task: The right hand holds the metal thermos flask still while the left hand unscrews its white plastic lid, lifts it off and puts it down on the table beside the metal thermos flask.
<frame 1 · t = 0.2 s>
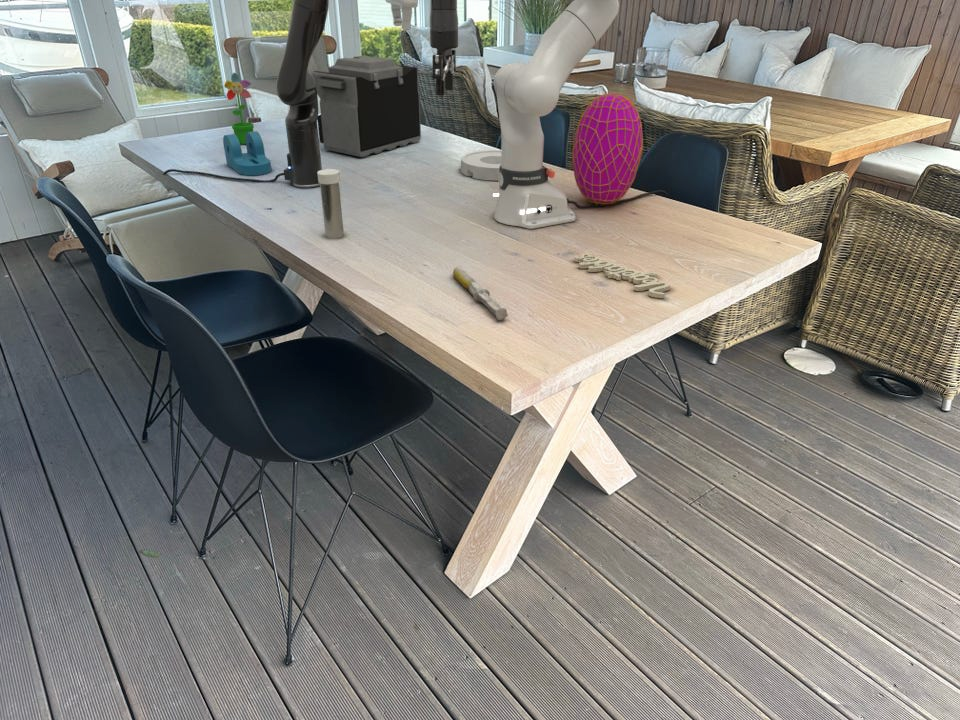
left hand: (444, 92, 191), 29 cm above the table, tool pointing down, fingers open, 8 cm apart
right hand: (402, 27, 157), 48 cm above the table, tool pointing down, fingers open, 8 cm apart
camera mount: (251, 168, 229), on the table
decorative egg: (601, 203, 201), on the table
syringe: (478, 297, 145), on the table
potted flower: (246, 142, 260), on the table
ashtray: (495, 171, 230), on the table
electronic device: (371, 146, 258), on the table
decorative sign: (623, 275, 156), on the table
lid: (328, 173, 168), point 16 cm above the table, screwed on, not yet turned
metal thermos flask: (334, 235, 176), on the table
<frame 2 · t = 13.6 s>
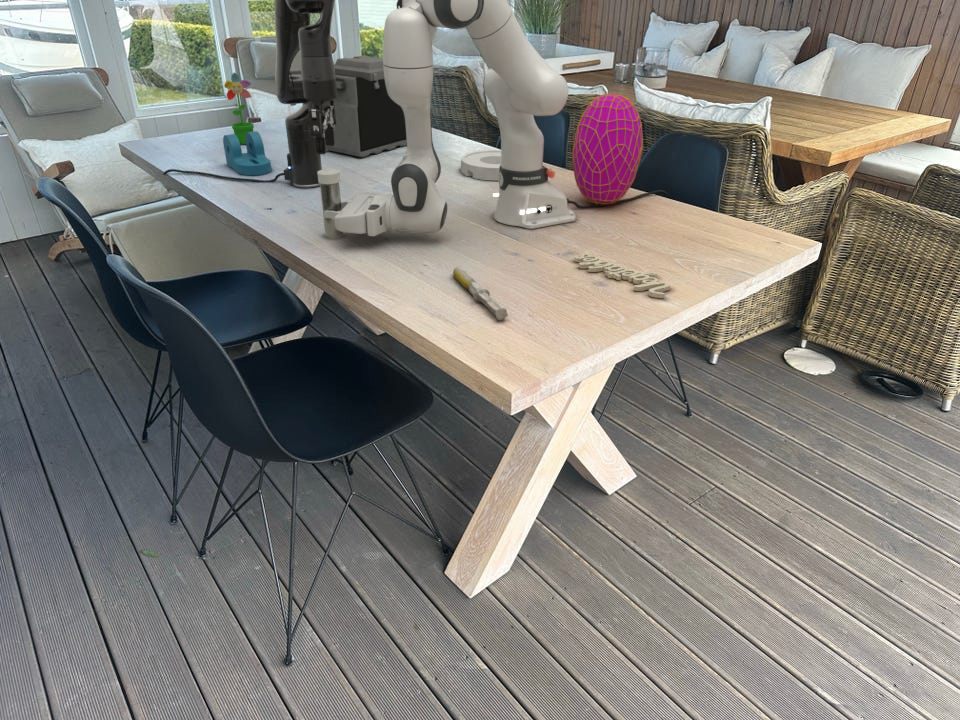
left hand: (326, 149, 165), 22 cm above the table, tool pointing down, fingers open, 8 cm apart
right hand: (328, 209, 172), 7 cm above the table, tool horizontal, fingers closed on metal thermos flask, 5 cm apart
metal thermos flask: (334, 235, 176), on the table, touching right hand
everything else where it was.
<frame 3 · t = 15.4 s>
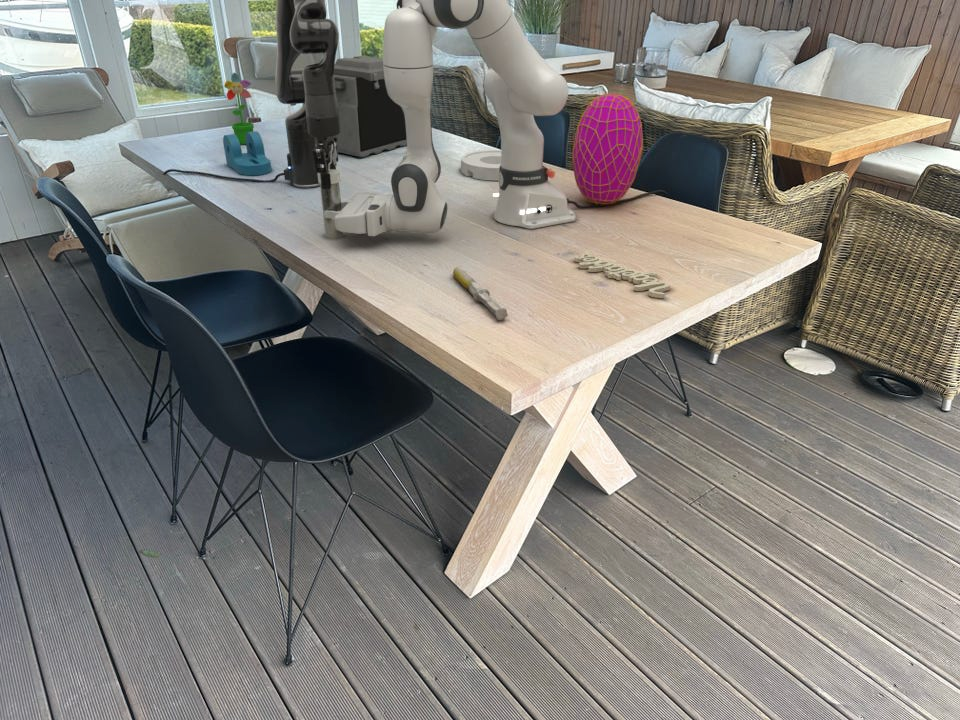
left hand: (329, 184, 169), 13 cm above the table, tool pointing down, fingers closed on lid, 5 cm apart
right hand: (328, 209, 172), 7 cm above the table, tool horizontal, fingers closed on metal thermos flask, 5 cm apart
lid: (328, 173, 168), point 16 cm above the table, screwed on, not yet turned, touching left hand
metal thermos flask: (334, 235, 176), on the table, touching right hand
everything else where it was.
when the left hand's fingers open (13 cm above the table, at t = 16.9 s): lid stays where it is, point 16 cm above the table.
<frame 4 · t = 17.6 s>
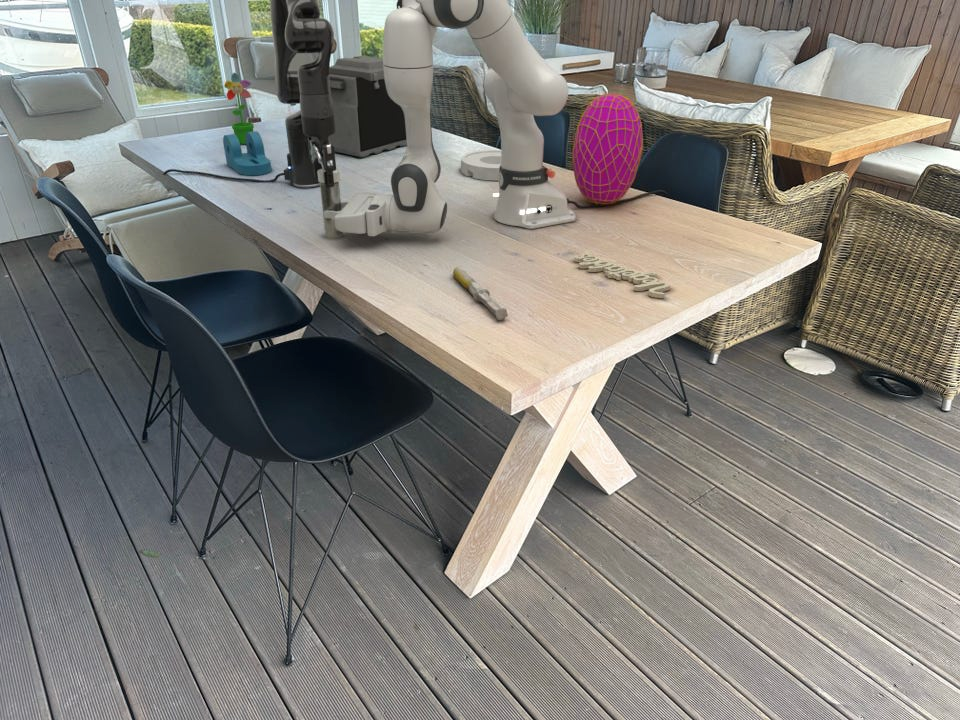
left hand: (324, 182, 169), 14 cm above the table, tool pointing down, fingers open, 8 cm apart
right hand: (328, 209, 172), 7 cm above the table, tool horizontal, fingers closed on metal thermos flask, 5 cm apart
lid: (328, 172, 168), point 16 cm above the table, turned 70° so far, risen 0.2 cm, still on its thread
metal thermos flask: (334, 235, 176), on the table, touching right hand
everything else where it was.
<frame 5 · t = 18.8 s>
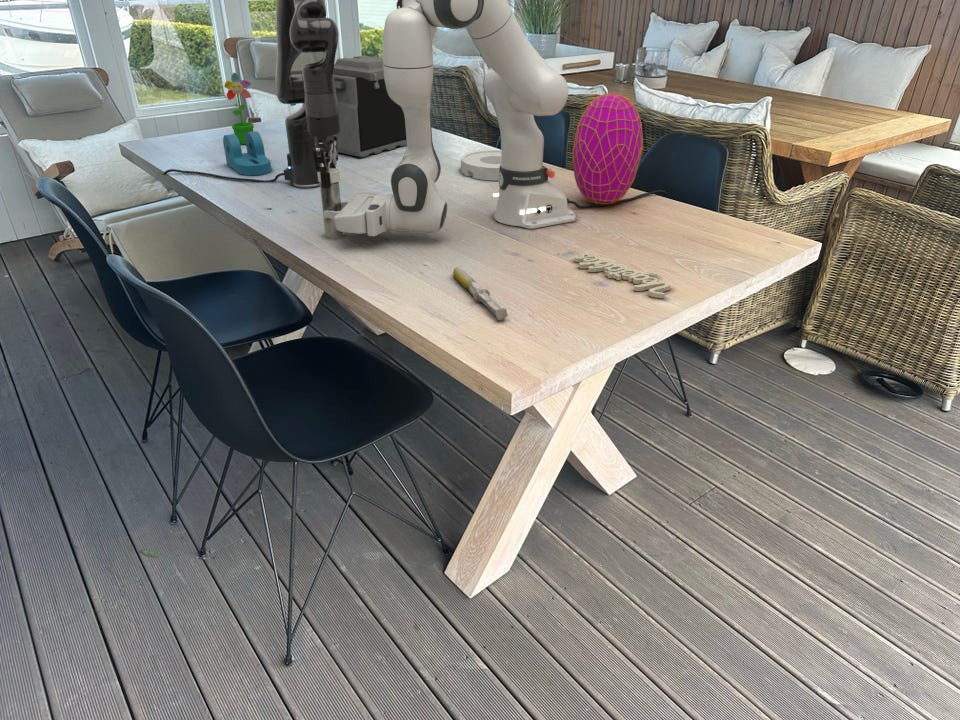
left hand: (329, 184, 169), 13 cm above the table, tool pointing down, fingers closed on lid, 5 cm apart
right hand: (328, 209, 172), 7 cm above the table, tool horizontal, fingers closed on metal thermos flask, 5 cm apart
lid: (328, 172, 168), point 16 cm above the table, turned 70° so far, risen 0.2 cm, still on its thread, touching left hand
metal thermos flask: (334, 235, 176), on the table, touching right hand
everything else where it was.
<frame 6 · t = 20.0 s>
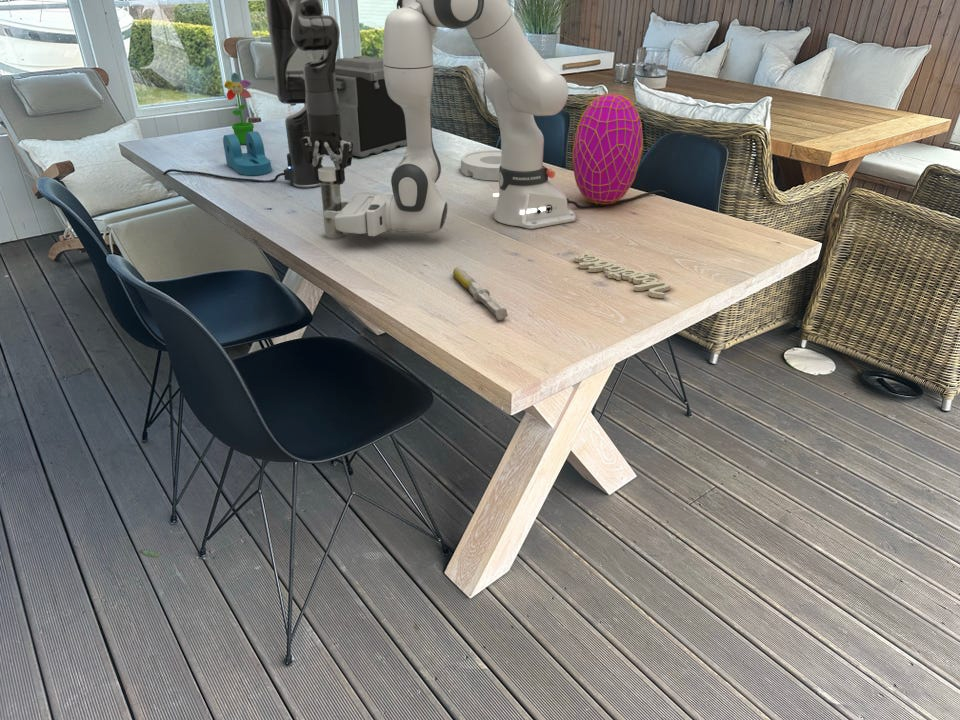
left hand: (330, 182, 169), 14 cm above the table, tool pointing down, fingers closed on lid, 5 cm apart
right hand: (328, 209, 172), 7 cm above the table, tool horizontal, fingers closed on metal thermos flask, 5 cm apart
lid: (329, 170, 168), point 17 cm above the table, off its thread, touching left hand
metal thermos flask: (334, 235, 176), on the table, touching right hand
everything else where it was.
when the left hand's fingers open (0 cm above the table, at t = 26.0 s): lid drops 1 cm, point 2 cm above the table.
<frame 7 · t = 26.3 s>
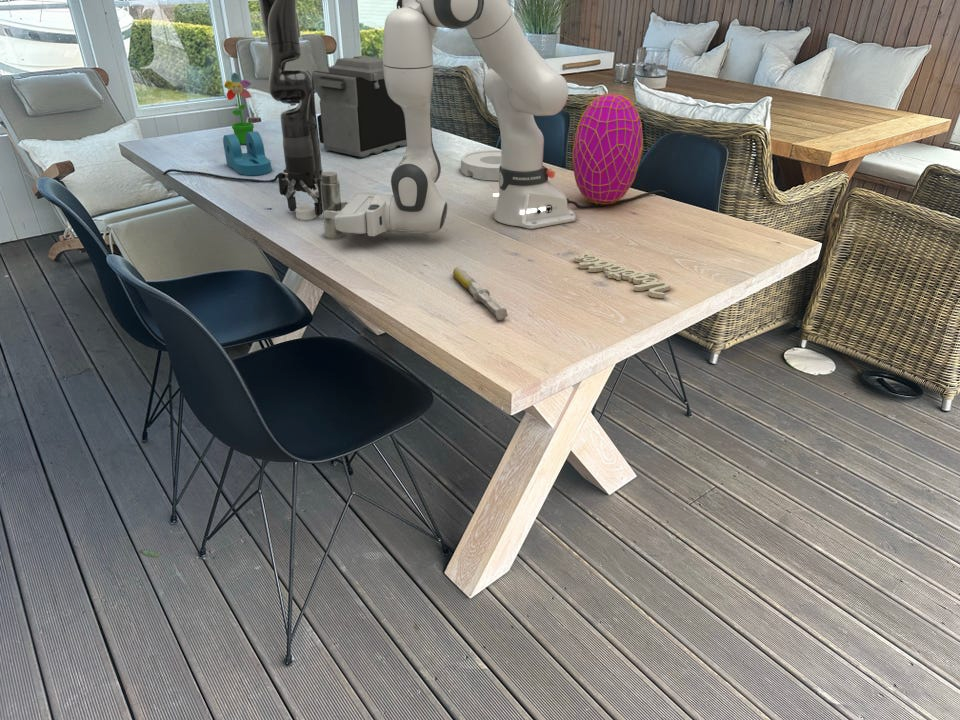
left hand: (306, 212, 188), 1 cm above the table, tool pointing down, fingers open, 8 cm apart
right hand: (328, 209, 172), 7 cm above the table, tool horizontal, fingers closed on metal thermos flask, 5 cm apart
lid: (305, 209, 187), point 2 cm above the table, off its thread
metal thermos flask: (334, 235, 176), on the table, touching right hand
everything else where it was.
when the right hand's fingers open (7 cm above the table, at t = 27.0 s): metal thermos flask stays where it is, on the table.
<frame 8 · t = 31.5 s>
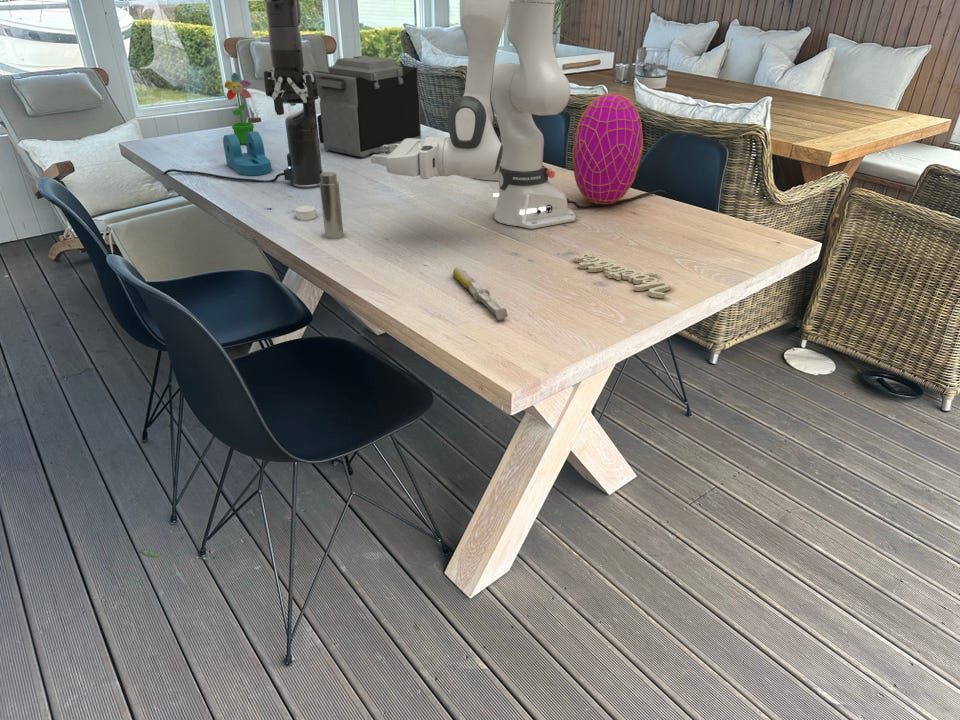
left hand: (294, 116, 175), 26 cm above the table, tool pointing down, fingers open, 8 cm apart
right hand: (376, 153, 164), 21 cm above the table, tool horizontal, fingers open, 8 cm apart
metal thermos flask: (334, 235, 176), on the table
everything else where it was.
at the end: lid came off its thread; lid point 2.0 cm above the table; the left hand is holding nothing; the right hand is holding nothing; metal thermos flask tilted 0°; metal thermos flask moved 0.1 cm from its start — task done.
